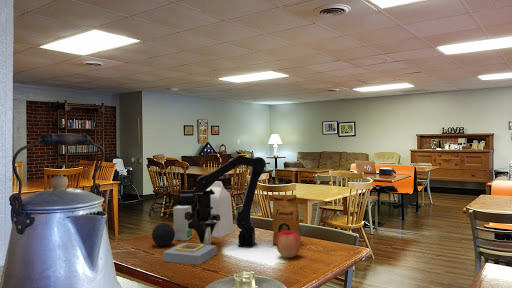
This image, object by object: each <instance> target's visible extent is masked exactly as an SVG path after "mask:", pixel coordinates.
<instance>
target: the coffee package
mask: <svg viewBox="0 0 512 288" xmlns="http://www.w3.org/2000/svg"><path fill="white" fill-rule="evenodd" d="M297 198H298V197H297V194H281V193H279V194H278V193H277V194H273V195H272V212H271V215H272V217H271V218H272V231H273V236H272V244H274V245H276V240H277V236H278V234H279V233H280V232H281V231H286V230H290V231H294V232H295V233H297V234H298V235H299V237H300V241H301V234H302V233H301V227H300V214H299V208H298V207H299V206H298V199H297ZM301 242H302V241H301Z"/></svg>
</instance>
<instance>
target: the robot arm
mask: <svg viewBox="0 0 512 288" xmlns="http://www.w3.org/2000/svg"><path fill="white" fill-rule="evenodd" d="M240 165H243V166H248V167H250V170H249V171H250V172H249V180H248V183H247V187H246V189H245V194H244V197H243V202H242V205H241V207H240V208H239V209H238V208H236V212H235V215H234V220H235V224H236V226H237V228H238V229H240V230H239V231H238V233H239V234H238V245H237V246H238V247H243V248H252V247H254V246H256V245H257V244H258V243H257V241H256V231H255V229H256V228H255V226H254V225H253V223H251V209H252V206H253V201H254V198H255V194H256V191H257V188H258V184H259V180H260V178H261V176H262V174H263V172H264V171H265V168H266V166H267V161H266V160H265V159H264V158H263V157H261V156H255V157H249V156H246V155H245V156H244V155H241V154H237V155H235V157H233V158H232V159H230V160H228V161H227V162H226V163H224V164H222V165H221V166H219V167H217V169H215V170H213V171H211V172H210V171H209V172H208V173H205V174H203V175H201V176H199V177H198V178H197V181H196V185H195V186H194V187H193V189H187V190H185V189H181V190H180V193H179V194H180V195H179V196H180V197H179V206H191V207H192V206H194V205H195V204H197V207H195V210H194V211H192V213H191V212H190V211H189V212H186V213H185V217H184V218H185V219H186V220H187V221H188V222H189V221H190V220H192V221H190V222H189V223H188V229H192V230H194V231H195V232H196V234H197V237H198V239H199V243H200V242H201V243H203V242H204V238H205V234H206V230H207V227H205V226H210V229H211V235H212V233H213V230H214V228H215V226H216V224H217V222H214V220H216V221H220V215H219V214H211V209H213V207H211V195H214V194H215V192H214V191H213V190H212V189H210V190H209V191H206V190H207V189H208V188H209V187H210V186H211V185H212V184H213V183H214V182H215V181H217V180H219V179H220V178H222V177H223V176H225V175H227V174H228V173H229V172H231V171H232V170H234V169H236V168H237V167H238V166H240Z"/></svg>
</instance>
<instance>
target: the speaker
mask: <svg viewBox="0 0 512 288" xmlns="http://www.w3.org/2000/svg"><path fill="white" fill-rule="evenodd" d="M174 237H175V231H174V226H172V225H171V224H169V223H167V222H165V223H164V222H162V223H159V224H157V225H156V226H155V227H154V228H153V230H152V232H151V239H152V242H154V244H155V245H156V246H159V247H165V246H168V245H170V244H172V243H173V241H174Z"/></svg>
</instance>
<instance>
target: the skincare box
mask: <svg viewBox="0 0 512 288" xmlns="http://www.w3.org/2000/svg"><path fill="white" fill-rule="evenodd" d="M172 210H173V211H172V212H173V229H174V231H175V237H174V239H173V241H177V240H181V241H182V242H187V241H188V240H189V239H192V238H193V229H188V223H189V222H190V221H193V220H190V221H189V222H188V221H187V220H186V219H185V218H184V217H185V213H186V212H189V211H190V212H191V213H192V212H193V211H192V206H180V205H176V206H174V207H173V209H172ZM181 241H180V242H181Z"/></svg>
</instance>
